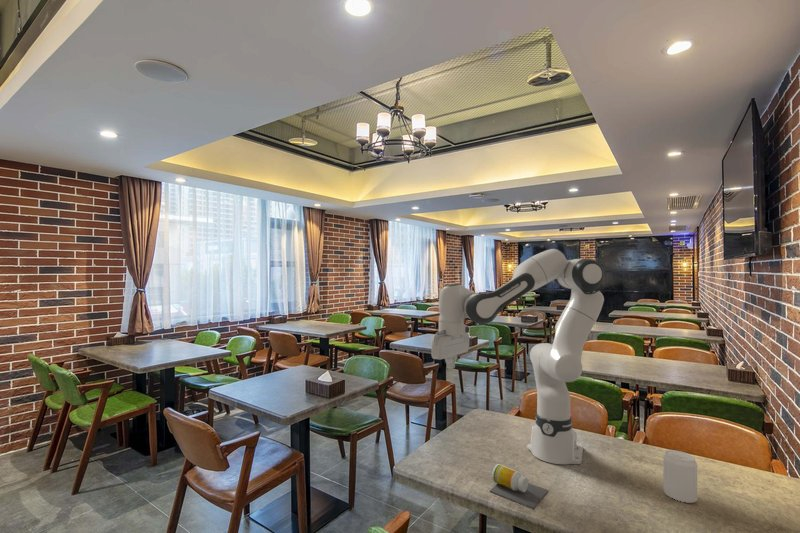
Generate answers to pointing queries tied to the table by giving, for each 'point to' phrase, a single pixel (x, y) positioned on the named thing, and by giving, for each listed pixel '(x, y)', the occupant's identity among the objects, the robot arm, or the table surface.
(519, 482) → the supplement bottle
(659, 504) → the table surface
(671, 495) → the beverage can
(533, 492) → the rubber mat
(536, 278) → the robot arm
